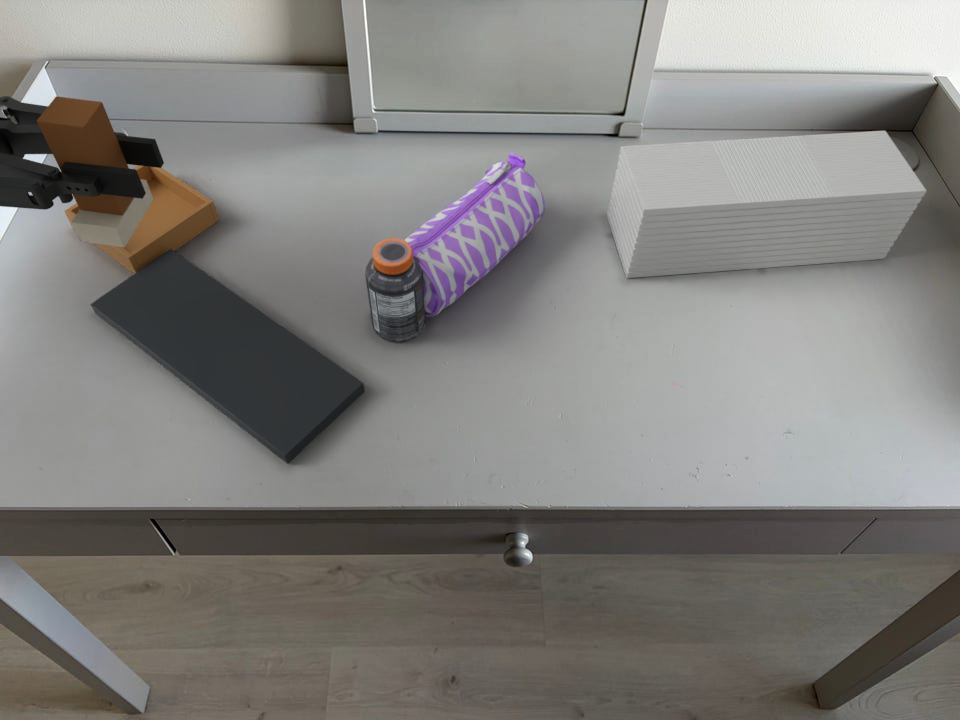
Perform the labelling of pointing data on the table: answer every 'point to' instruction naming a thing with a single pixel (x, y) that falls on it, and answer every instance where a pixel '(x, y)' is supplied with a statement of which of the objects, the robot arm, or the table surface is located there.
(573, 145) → the table surface
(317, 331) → the table surface
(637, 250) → the stack of papers
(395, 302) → the pill bottle
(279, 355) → the slate board
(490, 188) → the pencil case
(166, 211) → the tray
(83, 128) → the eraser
